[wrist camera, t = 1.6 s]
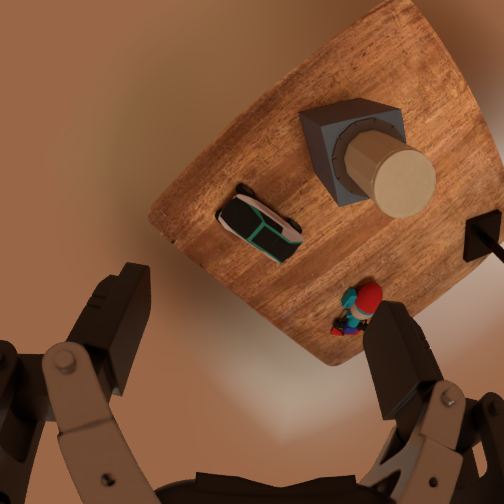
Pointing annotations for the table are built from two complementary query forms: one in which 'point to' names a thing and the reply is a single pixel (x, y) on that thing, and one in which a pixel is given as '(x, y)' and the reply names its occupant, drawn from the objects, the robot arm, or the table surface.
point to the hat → (383, 168)
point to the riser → (328, 130)
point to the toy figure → (358, 309)
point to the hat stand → (483, 236)
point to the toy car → (260, 225)
